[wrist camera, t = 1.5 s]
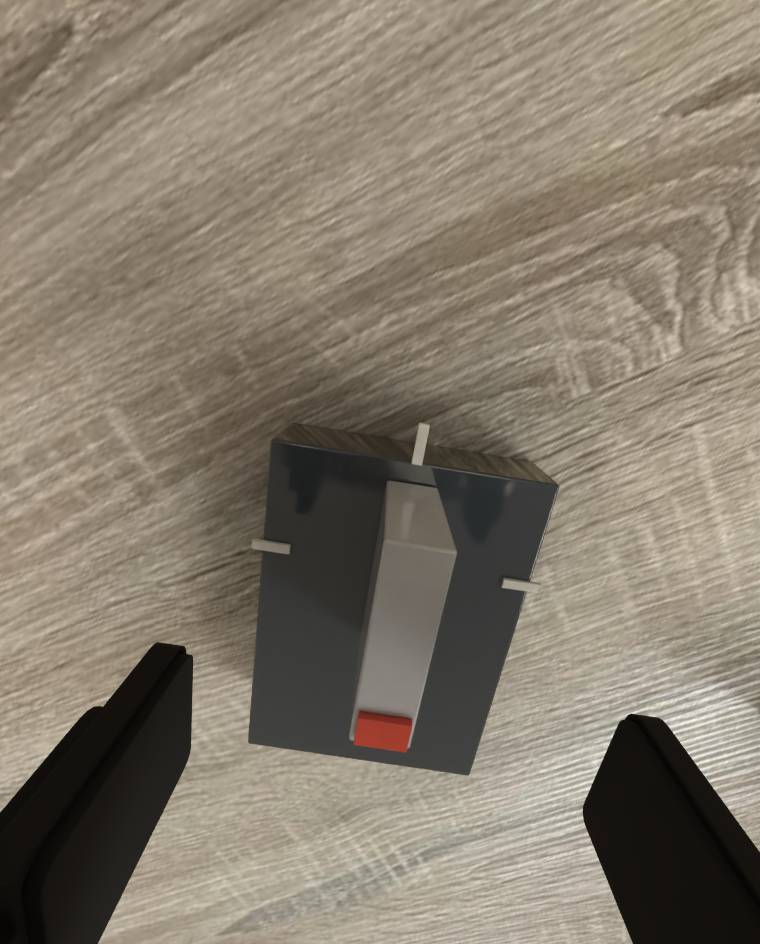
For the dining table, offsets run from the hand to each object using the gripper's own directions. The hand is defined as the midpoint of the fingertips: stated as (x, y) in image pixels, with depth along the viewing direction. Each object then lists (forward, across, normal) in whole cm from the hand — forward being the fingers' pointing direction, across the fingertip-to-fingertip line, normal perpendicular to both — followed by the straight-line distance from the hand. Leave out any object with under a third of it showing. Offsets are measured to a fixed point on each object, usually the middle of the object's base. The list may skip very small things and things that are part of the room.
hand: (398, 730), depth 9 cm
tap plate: (+10, 0, +3) cm, 10 cm away
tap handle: (+7, 0, 0) cm, 7 cm away
